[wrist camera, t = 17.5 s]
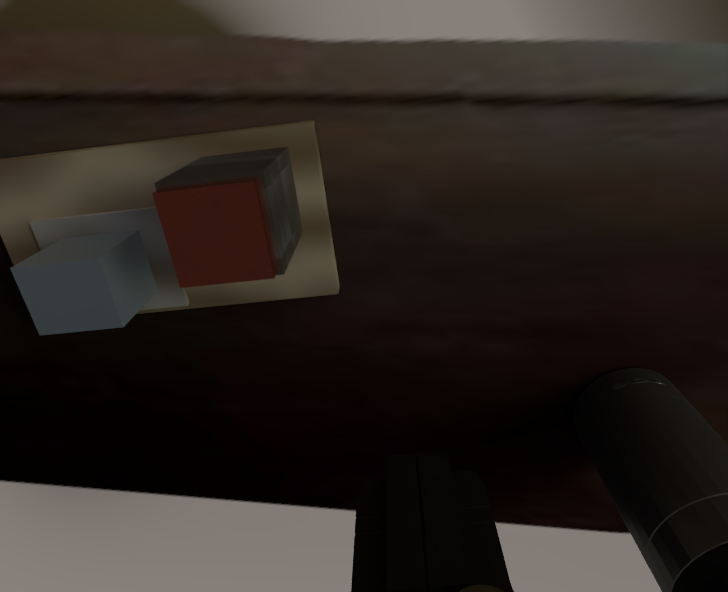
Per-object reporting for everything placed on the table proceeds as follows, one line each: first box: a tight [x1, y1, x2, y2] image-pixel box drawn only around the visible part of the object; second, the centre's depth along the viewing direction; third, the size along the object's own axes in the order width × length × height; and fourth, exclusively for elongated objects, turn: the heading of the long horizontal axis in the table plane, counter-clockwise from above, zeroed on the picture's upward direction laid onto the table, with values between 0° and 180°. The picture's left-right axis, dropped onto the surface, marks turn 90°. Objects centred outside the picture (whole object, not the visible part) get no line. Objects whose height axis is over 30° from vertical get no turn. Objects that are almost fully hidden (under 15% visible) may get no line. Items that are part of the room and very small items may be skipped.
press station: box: [0, 120, 339, 314], centre depth 35 cm, size 13×25×10 cm, turn 97°
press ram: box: [152, 177, 278, 288], centre depth 32 cm, size 6×6×7 cm
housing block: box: [10, 230, 158, 335], centre depth 36 cm, size 5×6×6 cm
